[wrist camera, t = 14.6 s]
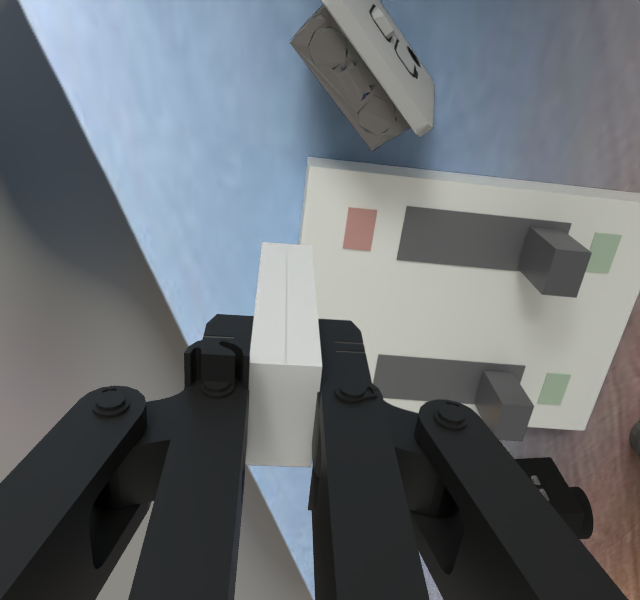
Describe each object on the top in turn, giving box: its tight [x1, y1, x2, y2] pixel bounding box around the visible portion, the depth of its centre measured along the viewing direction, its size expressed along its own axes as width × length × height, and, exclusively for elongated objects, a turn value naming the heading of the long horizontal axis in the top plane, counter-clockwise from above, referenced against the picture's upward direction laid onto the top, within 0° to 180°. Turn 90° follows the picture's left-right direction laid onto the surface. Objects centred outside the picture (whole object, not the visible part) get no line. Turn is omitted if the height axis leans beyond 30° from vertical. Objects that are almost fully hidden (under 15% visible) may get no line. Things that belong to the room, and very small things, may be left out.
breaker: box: [518, 227, 592, 298], centre depth 40 cm, size 3×2×4 cm
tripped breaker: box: [474, 371, 534, 441], centre depth 45 cm, size 3×2×4 cm
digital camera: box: [514, 457, 593, 539], centre depth 54 cm, size 10×5×7 cm, turn 1°
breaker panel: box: [298, 157, 640, 431], centre depth 45 cm, size 20×26×3 cm
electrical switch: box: [290, 0, 435, 151], centre depth 35 cm, size 9×5×9 cm, turn 39°
